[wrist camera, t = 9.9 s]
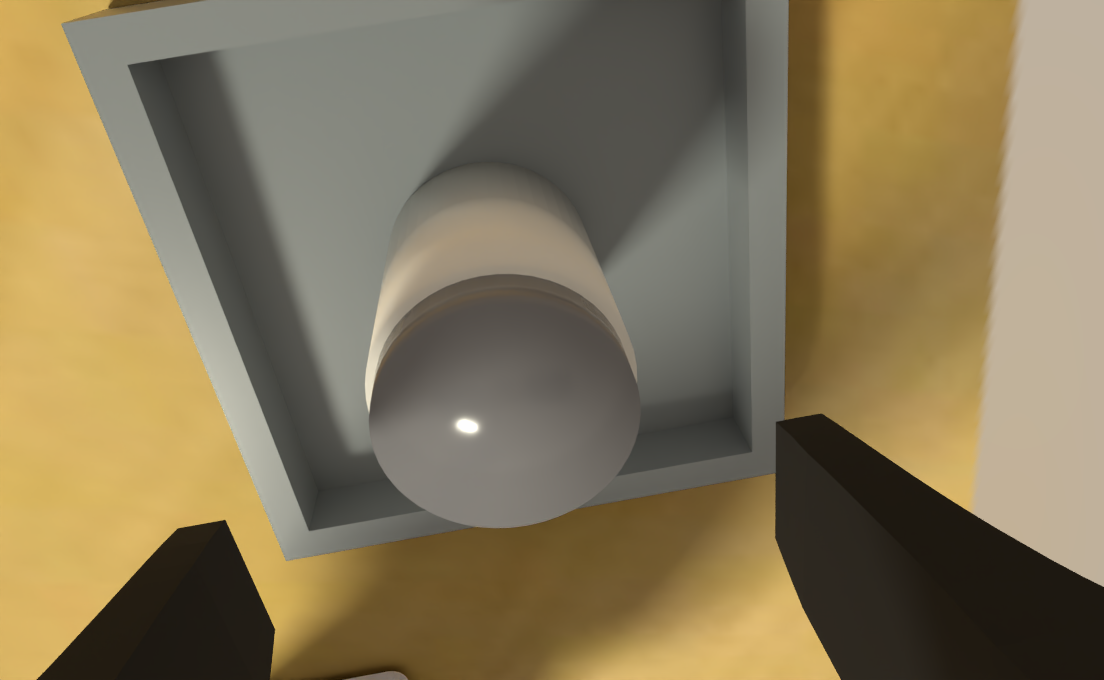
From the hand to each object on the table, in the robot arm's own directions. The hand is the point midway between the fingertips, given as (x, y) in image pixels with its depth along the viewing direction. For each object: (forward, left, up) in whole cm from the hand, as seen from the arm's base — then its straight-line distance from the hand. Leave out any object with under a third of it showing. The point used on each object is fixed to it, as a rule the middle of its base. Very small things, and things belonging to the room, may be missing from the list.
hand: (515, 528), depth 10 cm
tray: (0, 0, -9) cm, 9 cm away
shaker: (0, 0, -9) cm, 9 cm away
